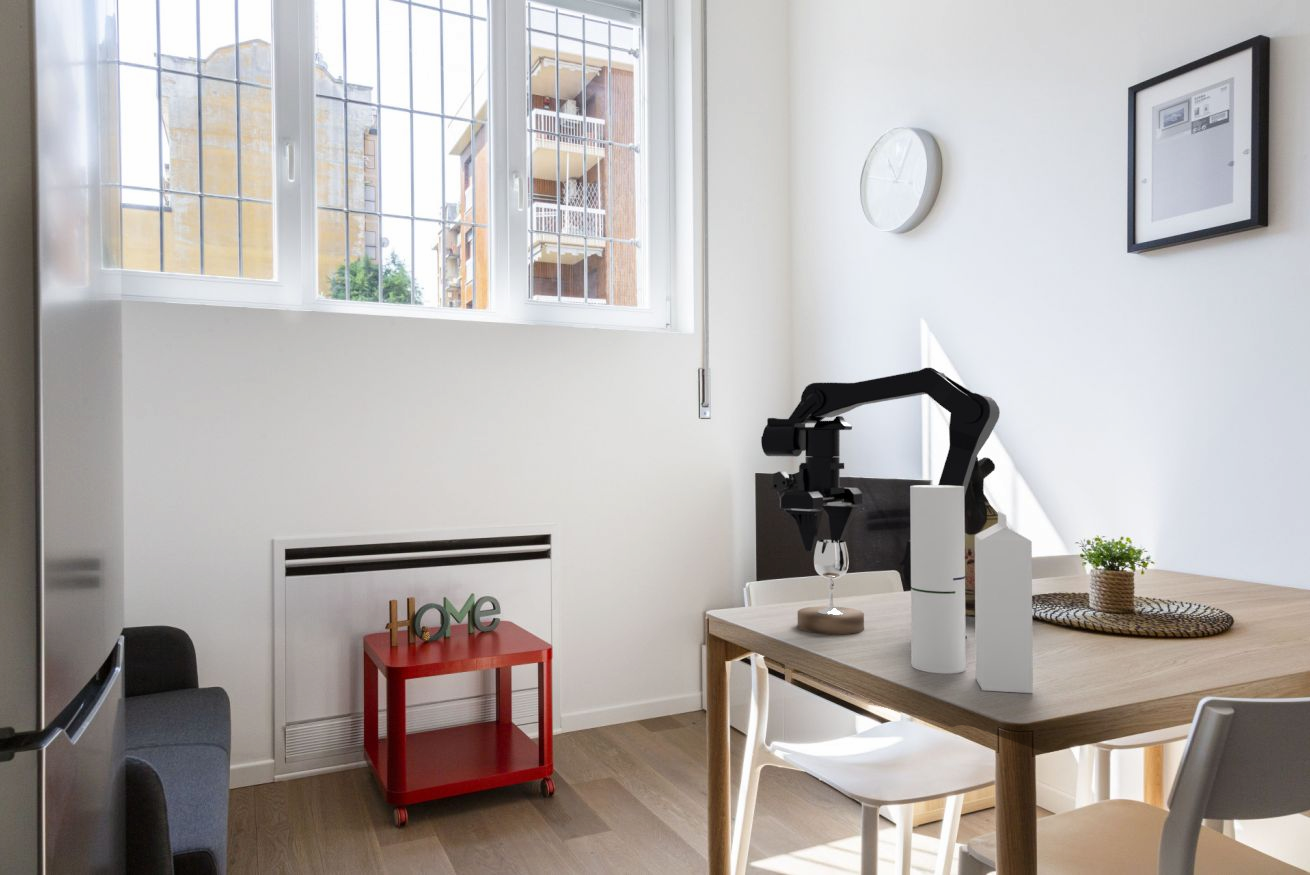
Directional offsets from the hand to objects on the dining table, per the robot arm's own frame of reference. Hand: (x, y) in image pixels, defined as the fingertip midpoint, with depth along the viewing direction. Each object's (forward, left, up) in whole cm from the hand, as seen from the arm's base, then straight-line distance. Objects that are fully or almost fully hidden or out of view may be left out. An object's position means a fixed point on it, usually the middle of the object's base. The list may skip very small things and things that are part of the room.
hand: (822, 548), depth 146 cm
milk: (-35, +18, -13) cm, 42 cm away
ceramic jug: (-17, -28, -13) cm, 35 cm away
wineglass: (-2, 0, -11) cm, 11 cm away
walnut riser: (-1, 0, -13) cm, 13 cm away
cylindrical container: (-25, +14, -13) cm, 32 cm away
